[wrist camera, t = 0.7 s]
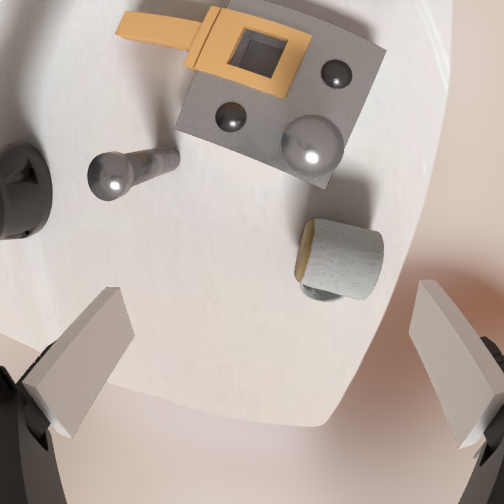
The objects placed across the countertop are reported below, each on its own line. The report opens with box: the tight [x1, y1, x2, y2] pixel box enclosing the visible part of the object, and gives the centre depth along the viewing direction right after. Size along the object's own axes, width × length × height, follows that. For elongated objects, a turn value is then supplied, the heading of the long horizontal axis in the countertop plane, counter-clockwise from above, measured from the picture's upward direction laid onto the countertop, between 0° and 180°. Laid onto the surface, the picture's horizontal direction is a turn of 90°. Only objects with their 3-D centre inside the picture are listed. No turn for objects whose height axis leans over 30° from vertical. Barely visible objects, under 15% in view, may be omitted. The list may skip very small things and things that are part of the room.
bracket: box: [115, 6, 312, 99], centre depth 25 cm, size 20×7×5 cm, turn 68°
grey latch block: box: [175, 0, 387, 190], centre depth 23 cm, size 16×16×12 cm
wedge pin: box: [87, 146, 180, 201], centre depth 27 cm, size 4×4×13 cm
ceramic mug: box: [294, 218, 384, 302], centre depth 32 cm, size 11×8×8 cm
